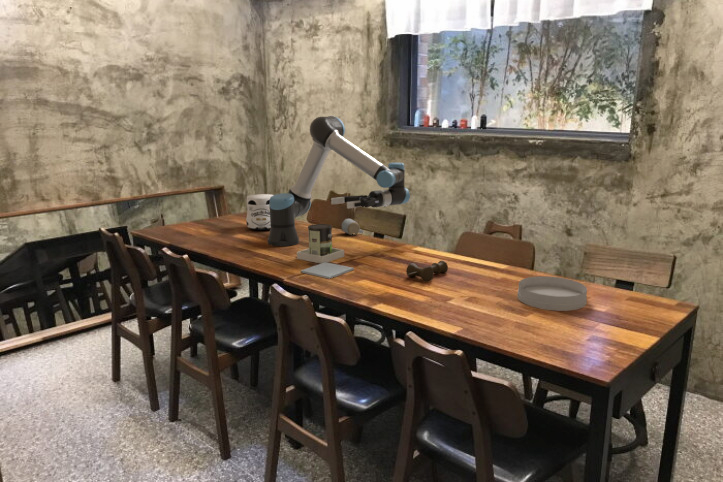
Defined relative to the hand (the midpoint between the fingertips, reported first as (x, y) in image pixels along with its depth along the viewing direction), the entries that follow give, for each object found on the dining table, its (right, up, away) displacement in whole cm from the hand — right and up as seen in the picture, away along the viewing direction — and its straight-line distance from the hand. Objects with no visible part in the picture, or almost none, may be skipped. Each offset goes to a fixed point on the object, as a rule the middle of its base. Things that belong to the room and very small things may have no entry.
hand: (339, 203), depth 238 cm
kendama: (+35, -31, -29) cm, 54 cm away
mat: (-4, -28, -20) cm, 35 cm away
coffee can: (-8, -24, 0) cm, 25 cm away
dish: (+74, -37, -54) cm, 99 cm away
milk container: (-44, -10, +60) cm, 75 cm away
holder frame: (-8, -24, 0) cm, 25 cm away
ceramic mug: (+5, -13, +46) cm, 48 cm away
